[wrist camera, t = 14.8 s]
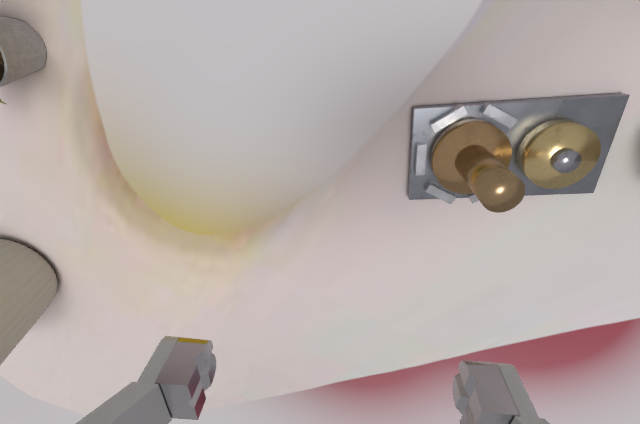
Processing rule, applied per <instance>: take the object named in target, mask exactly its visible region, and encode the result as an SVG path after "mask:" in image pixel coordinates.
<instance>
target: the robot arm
mask: <svg viewBox="0 0 640 424" xmlns="http://www.w3.org/2000/svg"><path fill="white" fill-rule="evenodd" d="M212 349H213V345H212V341H211V340H201V339H191V338H181V337H170V336H165V337H164V338H163V339H162V340H161V342H160V343H159V345H158V347H157V348H156V350H155V352H154V354H153V355H152V357H151V359H150V360H149V362H148V364H147V366H146V367H145V369H144V371H143V372H142V374H141V376H140V378H139V379H138V381H137V382H132V383H130V384H129V385H128V386H126V387H125V388H123V389H122V390H121V391H119V392H118V393H117V394H115V395H114V396H113V397H111V398H110V399H109V400H107V401H106V402H105V403H103V404H102V405H100V406H99V407H98V408H96V409H95V410H94V411H92V412H91V413H90V414H88V415H87V416H86V417H84V418H83V419H82V420H80V421H79V422H77V423H76V424H168V423H169V422H170V421H171V418H178V419H195V420H198V418H199V415H200V413H201V410H202V408H203V405H204V403H205V400H206V397H205V393H204V391H205V390H206V389H207V388H208V387H210V386H211V384H212V381H213V378H214V374H215V369H216V358H215V355H214V354H212V353H211V351H212ZM458 368H459V372H460V373H459V374H457V375H456V376H455V377H454V380H453V398H454V402H455V406H456V408H457V409H458V410H459V411H460V412H461V413H462V415H463V416H462V418H461V420H460V424H549V423H548V422H547V421H546V420H545V419H542V418H539V417H538V415H537V413H536V410H535V408H534V406H533V404H532V402H531V400H530V398H529V396H528V394H527V392H526V390H525V388H524V385H523V383H522V381H521V379H520V377H519V375H518V373H517V371H516V368H515V367H514V366H513V365H511V364H499V363H493V362H478V361H461V362H460V364H459V366H458Z"/></svg>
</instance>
